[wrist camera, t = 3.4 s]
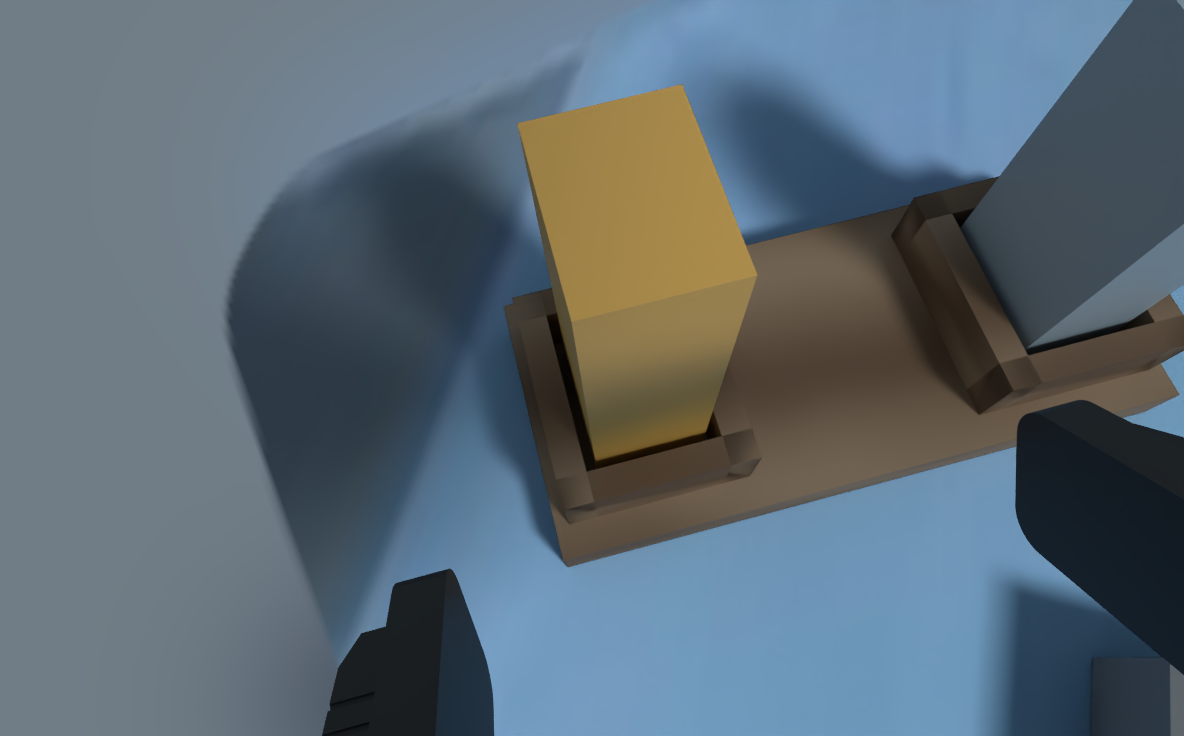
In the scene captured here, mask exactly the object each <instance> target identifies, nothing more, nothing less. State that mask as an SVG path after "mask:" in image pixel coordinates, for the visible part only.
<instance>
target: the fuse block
mask: <svg viewBox="0 0 1184 736" xmlns="http://www.w3.org/2000/svg"><path fill="white" fill-rule="evenodd" d="M998 178H999V177H995V178H991V179H987V180H983V181H979V182H975V183H971V184H967V185H963V186H959V187H955V188H951V189H947V190H943V191H939V192H935V193H931V194H927V195H923V196H919V197H915V198H914V199H913V200H912V202H911V204H910V205H907V206H903V207H899V208H895V209H891V210H887V211H883V212H879V213H875V214H871V215H867V216H863V217H859V218H855V219H851V220H847V221H843V222H839V223H835V224H831V225H827V226H823V227H819V228H815V229H811V230H807V231H803V232H799V233H795V234H791V235H787V236H783V237H779V238H775V239H771V240H767V241H763V242H759V243H755V244H751V245H747V246H746V247H747V250H748V252H749V255H750V257H751V260H752V262H753V265H754V267H755V270H756V273H757V278H756V281H755V284H754V287H753V290H752V293H751V296H750V299H749V302H748V305H747V309H746V312H745V315H744V318H743V321H742V324H741V327H740V330H739V333H738V336H737V339H736V342H735V345H734V348H733V351H732V354H731V357H730V360H729V363H728V366H727V369H726V372H725V375H724V378H723V381H722V384H721V387H720V391H719V394H718V397H717V400H716V403H715V406H714V409H713V412H712V415H711V418H710V421H709V424H708V427H707V430H706V433H705V436H704V439H703V441H702V442H698V443H694V444H690V445H686V446H683V447H679V448H675V449H671V450H667V451H664V452H660V453H656V454H652V455H648V456H645V457H641V458H637V459H633V460H629V461H626V462H622V463H618V464H614V465H610V466H607V467H603V468H599V469H596V467H595V463H594V459H593V455H592V451H591V448H590V444H589V440H588V436H587V433H586V429H585V425H584V421H583V417H582V414H581V410H580V406H579V402H578V398H577V395H576V391H575V387H574V383H573V380H572V376H571V372H570V368H569V364H568V361H567V357H566V353H565V349H564V344H563V339H562V335H561V330H560V325H559V320H558V315H557V311H556V306H555V301H554V296H553V292H552V288H550V289H546V290H542V291H538V292H534V293H530V294H526V295H522V296H518V297H514V298H512V299H513V303H514V304H510V305H506V306H504V310H505V315H506V319H507V323H508V327H509V332H510V336H511V340H512V344H513V349H514V353H515V357H516V362H517V366H518V370H519V374H520V379H521V383H522V387H523V391H524V396H525V400H526V404H527V408H528V413H529V417H530V421H531V426H532V430H533V434H534V438H535V443H536V447H537V451H538V455H539V460H540V464H541V468H542V472H543V477H544V481H545V485H546V490H547V494H548V498H549V502H550V507H551V511H552V515H553V519H554V524H555V528H556V532H557V536H558V541H559V545H560V549H561V554H562V558H563V561H564V563H565V564H566V566H567V567H570V566H574V565H578V564H582V563H585V562H589V561H593V560H596V559H600V558H604V557H607V556H611V555H615V554H619V553H622V552H626V551H630V550H633V549H637V548H641V547H645V546H648V545H652V544H656V543H659V542H663V541H667V540H671V539H674V538H678V537H682V536H685V535H689V534H693V533H697V532H700V531H704V530H708V529H711V528H715V527H719V526H723V525H726V524H730V523H734V522H737V521H741V520H745V519H748V518H752V517H756V516H760V515H763V514H767V513H771V512H774V511H778V510H782V509H786V508H789V507H793V506H797V505H800V504H804V503H808V502H812V501H815V500H819V499H823V498H826V497H830V496H834V495H838V494H841V493H845V492H849V491H852V490H856V489H860V488H864V487H867V486H871V485H875V484H878V483H882V482H886V481H889V480H893V479H897V478H901V477H904V476H908V475H912V474H915V473H919V472H923V471H927V470H930V469H934V468H938V467H941V466H945V465H949V464H953V463H956V462H960V461H964V460H967V459H971V458H975V457H979V456H982V455H986V454H990V453H993V452H997V451H1001V450H1004V449H1008V448H1012V447H1016V446H1017V427H1018V423H1019V421H1020V419H1021V418H1022V417H1023V416H1024V415H1025V414H1028V413H1032V412H1035V411H1039V410H1043V409H1046V408H1050V407H1054V406H1057V405H1061V404H1065V403H1068V402H1072V401H1076V400H1087V401H1090V402H1092V403H1094V404H1096V405H1098V406H1100V407H1102V408H1104V409H1106V410H1108V411H1110V412H1111V413H1113V414H1115V415H1117V416H1119V417H1121V418H1123V417H1127V416H1131V415H1134V414H1138V413H1142V412H1145V411H1147V410H1149V409H1151V408H1153V407H1155V406H1157V405H1160V404H1162V403H1164V402H1166V401H1168V400H1170V399H1172V398H1174V397H1176V396H1178V395H1179V393H1178V391H1177V390H1176V388H1175V386H1174V385H1173V383H1172V381H1171V380H1170V378H1169V377H1168V375H1167V373H1166V372H1165V370H1164V368H1163V367H1162V365H1161V363H1162V362H1164V361H1166V360H1168V359H1169V358H1171V357H1173V356H1175V355H1177V354H1178V353H1180V352H1182V351H1184V315H1183V314H1182V312H1181V311H1180V309H1179V308H1178V306H1177V304H1176V303H1175V301H1174V300H1173V298H1172V297H1171V295H1170V294H1169V295H1168V296H1166V297H1165V298H1163V299H1162V300H1160V301H1159V302H1157V303H1156V304H1155V305H1153V306H1152V307H1150V308H1149V309H1147V310H1146V311H1144V312H1143V313H1141V314H1140V315H1138V316H1137V317H1135V318H1134V319H1133V320H1131V321H1130V322H1128V323H1127V324H1125V325H1124V326H1122V327H1121V328H1119V329H1118V330H1116V331H1115V332H1113V333H1112V334H1108V335H1105V336H1101V337H1097V338H1093V339H1089V340H1086V341H1082V342H1078V343H1074V344H1070V345H1067V346H1063V347H1059V348H1055V349H1051V350H1048V351H1044V352H1040V353H1036V354H1032V355H1029V356H1028V354H1027V353H1026V351H1025V349H1024V347H1023V345H1022V343H1021V341H1020V340H1019V338H1018V336H1017V334H1016V332H1015V330H1014V328H1013V326H1012V325H1011V323H1010V321H1009V319H1008V317H1007V315H1006V313H1005V312H1004V310H1003V308H1002V306H1001V304H1000V302H999V300H998V298H997V297H996V295H995V293H994V291H993V289H992V287H991V285H990V284H989V282H988V280H987V278H986V276H985V274H984V272H983V270H982V269H981V267H980V265H979V263H978V261H977V259H976V257H975V256H974V254H973V252H972V250H971V248H970V246H969V244H968V242H967V241H966V239H965V237H964V235H963V233H962V231H961V229H960V228H961V226H962V225H963V224H964V222H965V221H966V220H967V218H968V217H969V216H970V215H971V213H972V212H973V211H974V209H975V208H976V207H977V205H978V204H979V203H980V201H981V200H982V199H983V197H984V196H985V195H986V194H987V192H988V191H989V190H990V188H991V187H992V186H993V184H994V183H995V182H996V180H997V179H998Z"/></svg>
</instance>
